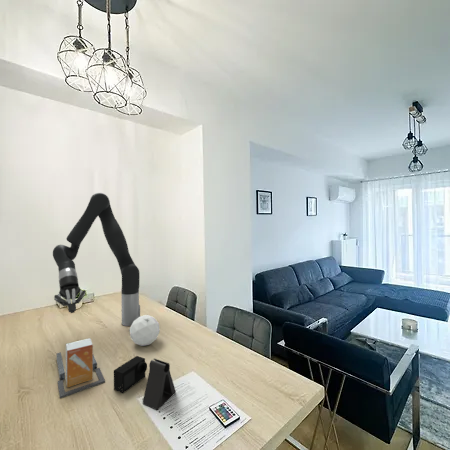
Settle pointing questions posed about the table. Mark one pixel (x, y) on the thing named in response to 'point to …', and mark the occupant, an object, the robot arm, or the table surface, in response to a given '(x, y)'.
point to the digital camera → (129, 374)
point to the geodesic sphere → (144, 330)
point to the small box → (79, 362)
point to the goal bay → (63, 393)
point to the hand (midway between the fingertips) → (72, 312)
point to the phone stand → (158, 384)
